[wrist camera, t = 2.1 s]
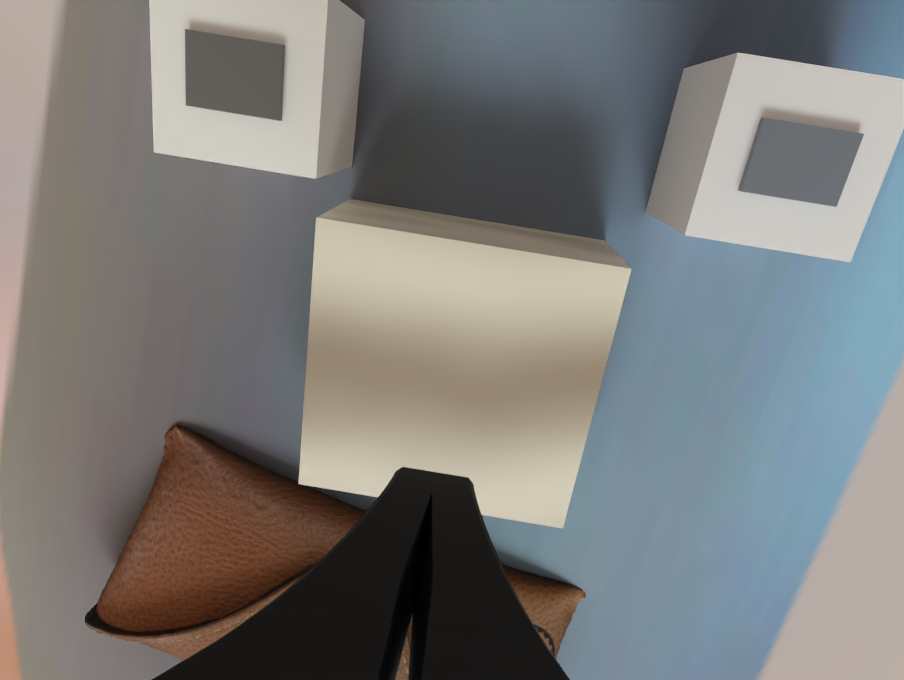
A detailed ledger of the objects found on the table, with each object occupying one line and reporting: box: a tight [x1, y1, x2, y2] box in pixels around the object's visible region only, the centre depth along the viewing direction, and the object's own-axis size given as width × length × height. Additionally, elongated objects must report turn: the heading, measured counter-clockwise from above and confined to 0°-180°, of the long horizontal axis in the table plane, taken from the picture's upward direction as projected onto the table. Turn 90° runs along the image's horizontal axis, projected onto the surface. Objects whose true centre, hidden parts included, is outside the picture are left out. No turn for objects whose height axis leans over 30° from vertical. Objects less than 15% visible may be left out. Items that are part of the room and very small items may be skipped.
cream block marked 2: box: [149, 0, 365, 179], centre depth 15 cm, size 4×4×4 cm
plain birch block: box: [298, 199, 632, 529], centre depth 18 cm, size 8×8×4 cm
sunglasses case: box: [85, 425, 586, 680], centre depth 23 cm, size 18×7×7 cm
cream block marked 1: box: [646, 53, 904, 262], centre depth 15 cm, size 4×4×4 cm
